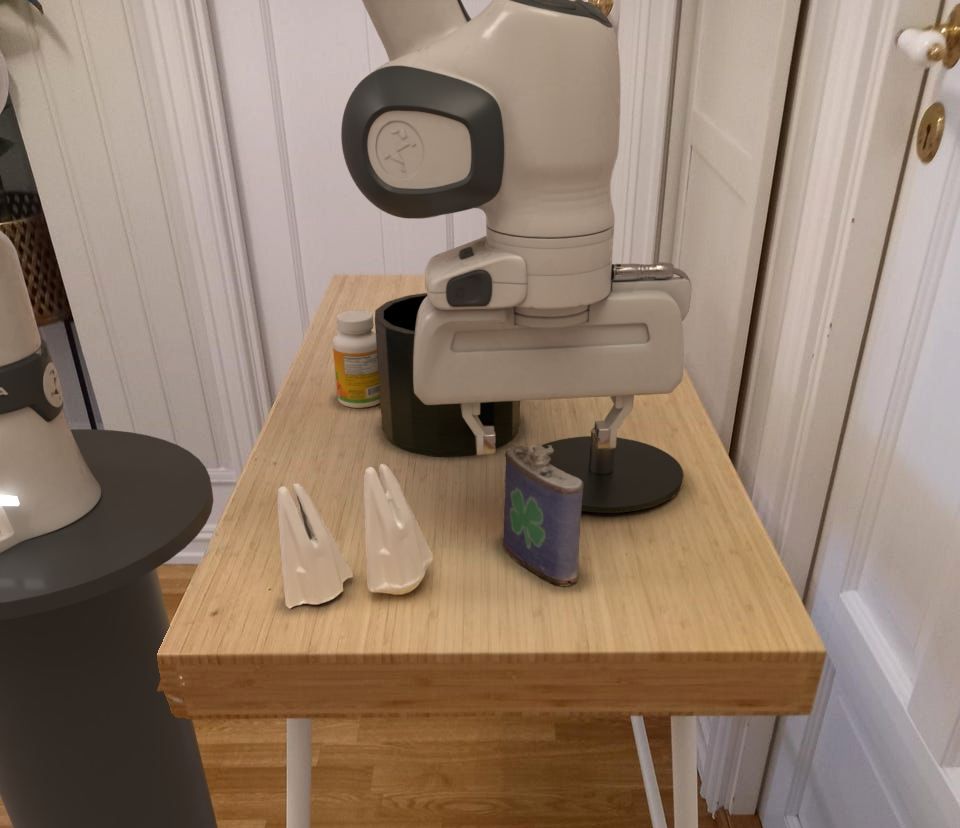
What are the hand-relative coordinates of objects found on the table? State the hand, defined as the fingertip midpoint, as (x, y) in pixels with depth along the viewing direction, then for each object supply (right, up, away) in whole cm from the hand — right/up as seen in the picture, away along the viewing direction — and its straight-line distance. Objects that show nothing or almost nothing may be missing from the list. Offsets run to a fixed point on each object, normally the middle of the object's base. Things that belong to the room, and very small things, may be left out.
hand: (545, 449), depth 76 cm
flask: (0, -9, +6) cm, 11 cm away
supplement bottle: (-19, +13, +36) cm, 43 cm away
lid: (+7, +1, +18) cm, 19 cm away
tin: (-8, +8, +29) cm, 31 cm away
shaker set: (-15, -11, +2) cm, 19 cm away
